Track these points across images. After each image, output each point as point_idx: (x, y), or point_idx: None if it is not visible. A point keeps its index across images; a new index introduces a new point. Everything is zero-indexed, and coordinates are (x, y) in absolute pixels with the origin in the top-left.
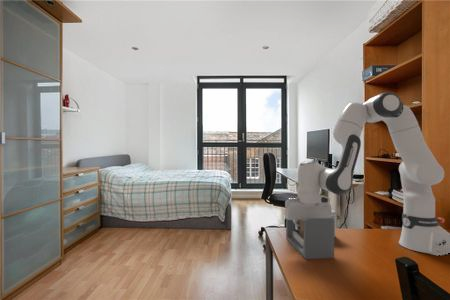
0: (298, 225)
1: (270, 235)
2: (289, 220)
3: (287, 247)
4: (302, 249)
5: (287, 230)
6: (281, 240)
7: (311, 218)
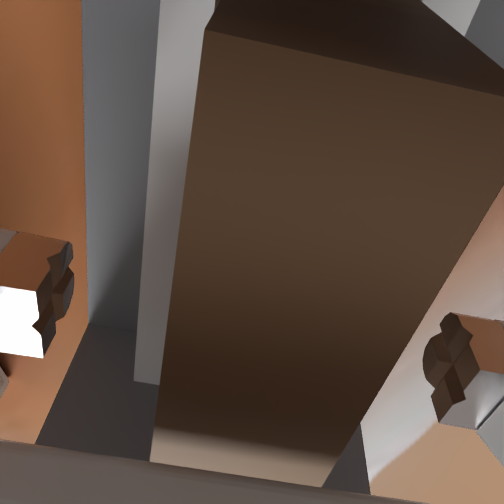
0: (485, 394)
1: (419, 435)
2: None
3: (498, 207)
4: (490, 11)
5: (359, 427)
6: (412, 347)
7: (206, 499)
